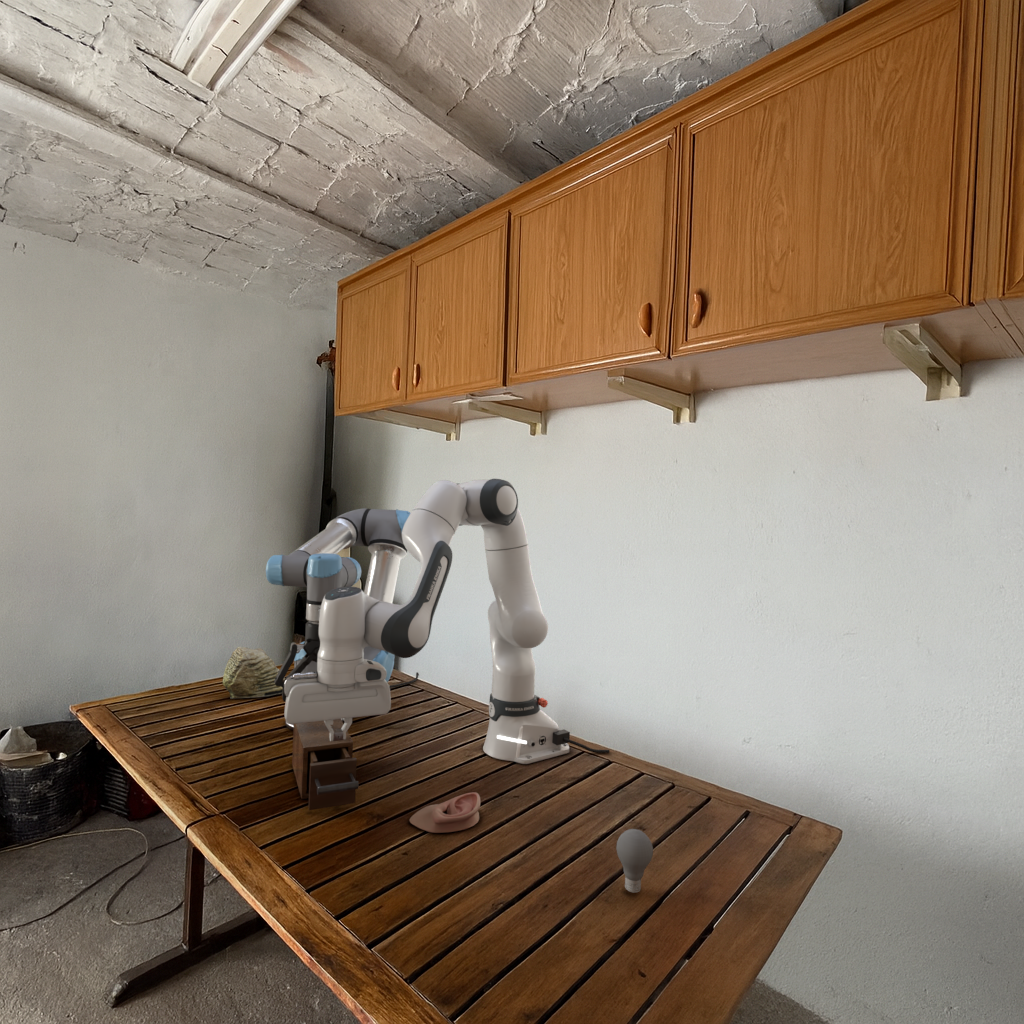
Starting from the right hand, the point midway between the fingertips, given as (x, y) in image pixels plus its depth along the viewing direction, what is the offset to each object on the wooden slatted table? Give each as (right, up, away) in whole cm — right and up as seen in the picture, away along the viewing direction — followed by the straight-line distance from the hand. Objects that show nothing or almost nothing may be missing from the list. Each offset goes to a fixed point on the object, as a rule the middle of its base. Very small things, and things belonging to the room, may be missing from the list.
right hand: (337, 739), depth 125 cm
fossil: (-46, -12, +73) cm, 87 cm away
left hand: (-10, -1, +22) cm, 24 cm away
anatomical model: (+21, -17, +1) cm, 27 cm away
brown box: (-9, -15, +17) cm, 24 cm away
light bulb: (+55, -18, -20) cm, 61 cm away
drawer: (-4, -14, +8) cm, 17 cm away
